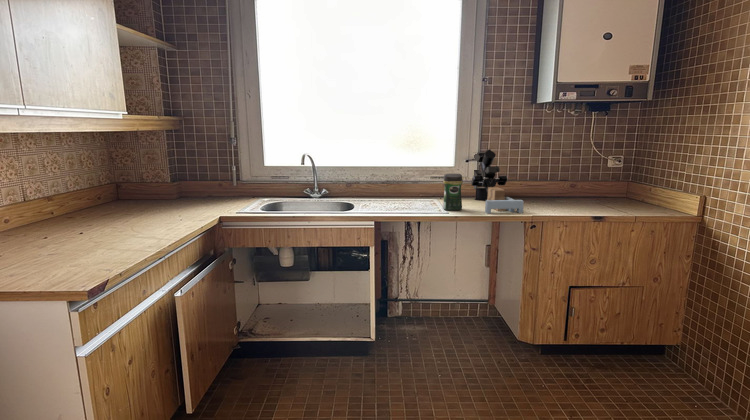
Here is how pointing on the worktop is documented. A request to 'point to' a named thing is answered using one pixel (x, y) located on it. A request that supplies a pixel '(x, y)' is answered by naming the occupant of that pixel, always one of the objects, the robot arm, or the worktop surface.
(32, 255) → the worktop surface
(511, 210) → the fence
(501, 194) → the tan stepped block
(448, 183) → the coffee jar
